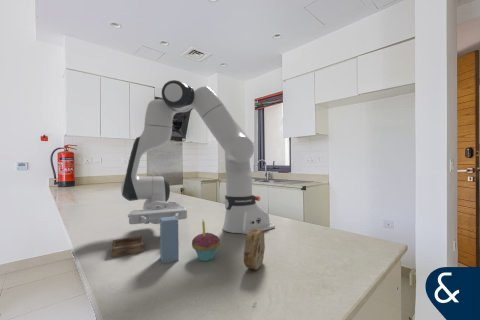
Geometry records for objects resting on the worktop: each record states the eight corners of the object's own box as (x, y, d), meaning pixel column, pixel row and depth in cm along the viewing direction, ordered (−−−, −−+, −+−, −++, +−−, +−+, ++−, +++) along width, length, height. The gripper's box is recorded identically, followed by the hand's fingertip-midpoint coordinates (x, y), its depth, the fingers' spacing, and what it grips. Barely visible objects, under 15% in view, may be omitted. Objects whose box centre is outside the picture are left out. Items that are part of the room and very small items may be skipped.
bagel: (254, 258, 70) (254, 224, 70) (266, 260, 68) (266, 225, 68) (241, 274, 60) (240, 235, 60) (254, 276, 58) (254, 236, 58)
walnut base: (141, 243, 83) (141, 236, 83) (143, 251, 75) (143, 244, 75) (112, 247, 79) (112, 240, 79) (111, 257, 71) (111, 249, 71)
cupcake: (215, 264, 65) (214, 221, 65) (186, 262, 67) (186, 220, 67) (223, 252, 74) (223, 214, 74) (197, 251, 75) (197, 213, 75)
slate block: (175, 254, 73) (175, 216, 73) (178, 260, 68) (178, 219, 68) (160, 257, 71) (160, 217, 71) (162, 263, 67) (162, 221, 67)
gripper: (127, 205, 88) (128, 213, 76) (182, 202, 97) (190, 208, 85) (127, 222, 88) (128, 233, 76) (182, 217, 97) (190, 225, 85)
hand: (161, 219), depth 80 cm, fingers open, 8 cm apart
